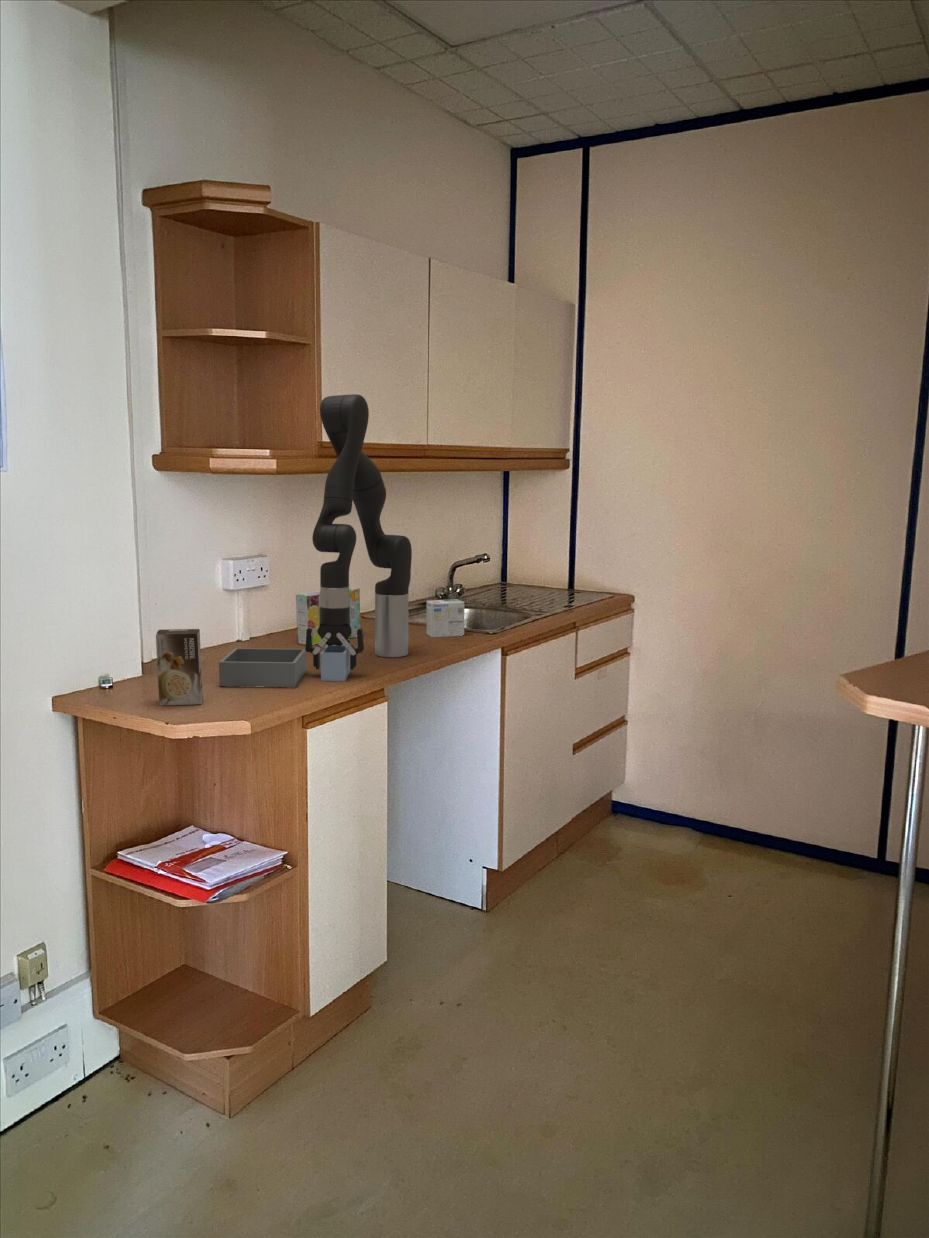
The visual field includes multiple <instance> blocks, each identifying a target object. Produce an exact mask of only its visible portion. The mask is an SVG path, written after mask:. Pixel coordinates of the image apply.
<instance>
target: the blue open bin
mask: <svg viewBox="0 0 929 1238" xmlns="http://www.w3.org/2000/svg"><path fill="white" fill-rule="evenodd" d="M350 655H351V653H350V652H349V651H348V649H347V648H346V647H345V646H344V645H341V646H337V645H332V646H328V645H327V644H325V646H324V648H322V650H321V652H320V682H346V681H347V680H348V677H349V675H350V673H351V670H350Z"/></svg>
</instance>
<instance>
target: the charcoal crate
mask: <svg viewBox="0 0 929 1238" xmlns="http://www.w3.org/2000/svg"><path fill="white" fill-rule="evenodd" d="M305 649H306V648H267V647H266V648H261V647H260V648H257V647H255V648H254V647H253V648H252V647H246V648H245V647H235V648H234V649H233V650H231V651H230V652H229V653H228V654H226V655H225V656H224V657H222V659H221V660H220V661H218V675H219V676H218V680H219V682H218V683H219V687H220V686H264V687H263V688H265V687H287V688H286V689H296V688H297V686H298V685H299V684H300V682H301V681H302V679H303V678H304V677H305V675H306V674H307V672H308V671H307V670H308V669H307V666H308V665H307V652H306V650H305ZM304 674H305V675H304ZM303 676H304V677H303ZM299 681H300V682H299ZM298 683H299V684H298ZM297 684H298V685H297ZM288 687H290V688H288ZM291 687H292V688H291Z"/></svg>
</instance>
